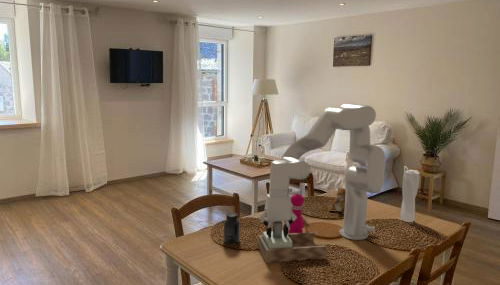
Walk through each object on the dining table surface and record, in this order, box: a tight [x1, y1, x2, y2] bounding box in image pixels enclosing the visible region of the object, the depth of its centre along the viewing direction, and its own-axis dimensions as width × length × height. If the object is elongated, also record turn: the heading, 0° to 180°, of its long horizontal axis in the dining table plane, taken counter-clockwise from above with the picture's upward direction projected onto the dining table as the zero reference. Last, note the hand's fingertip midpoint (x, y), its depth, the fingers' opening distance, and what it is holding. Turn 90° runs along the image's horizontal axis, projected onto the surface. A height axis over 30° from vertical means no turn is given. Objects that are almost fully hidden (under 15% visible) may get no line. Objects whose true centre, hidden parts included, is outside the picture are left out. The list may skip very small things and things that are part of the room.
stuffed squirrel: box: [328, 186, 346, 214], centre depth 200 cm, size 10×14×13 cm
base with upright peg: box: [262, 221, 292, 249], centre depth 148 cm, size 9×11×12 cm
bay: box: [257, 231, 327, 264], centre depth 150 cm, size 24×14×5 cm, turn 102°
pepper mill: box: [288, 190, 305, 234], centre depth 168 cm, size 7×7×20 cm
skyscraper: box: [398, 165, 420, 223], centre depth 186 cm, size 8×8×28 cm
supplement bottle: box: [223, 212, 241, 245], centre depth 159 cm, size 7×7×12 cm
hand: (277, 235), depth 148 cm, fingers open, 5 cm apart
